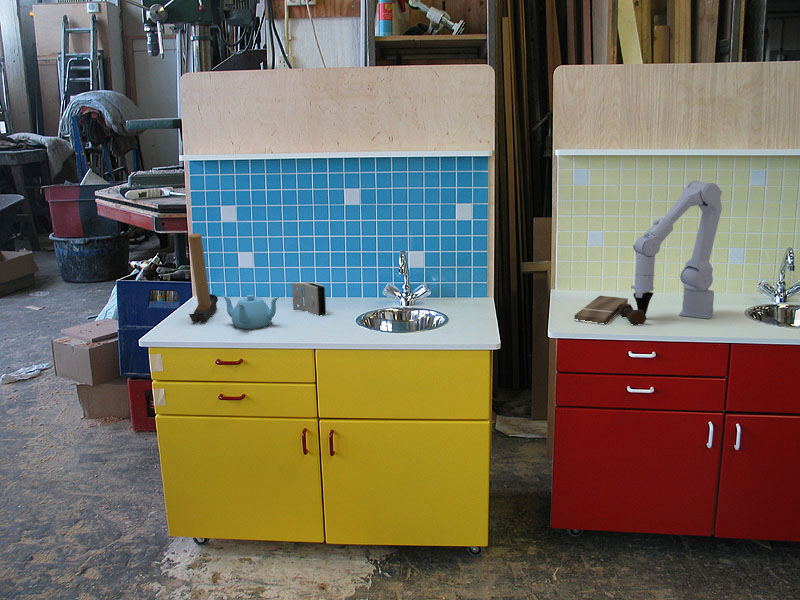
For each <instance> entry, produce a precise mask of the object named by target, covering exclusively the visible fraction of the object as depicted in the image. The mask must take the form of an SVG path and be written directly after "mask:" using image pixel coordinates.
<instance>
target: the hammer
mask: <svg viewBox="0 0 800 600" xmlns="http://www.w3.org/2000/svg"><path fill="white" fill-rule="evenodd" d="M188 243H189V250H190V256H191V262H192V264H191V265H192V271H193V279H194V284H195V290H196V291H195V292H196V299H197V306H196V308H195V310H194V311H193V313H189V314H188V315H189V318H190V319H191V321H192V322H209V320H210V319H211V318H212V317H213V316H214V315H215V312H216V311H217V310H218V307H217V306H218V305H217V303H218V301H219V299H218V298H219V297H218V296H217V295H215V294H211V293H210V290H209V281H208V273H207V268H206V259H205V255H204V254H205V253H204V245H203V237H202V234H201V233H191V234H189V235H188ZM212 315H213V316H212ZM211 316H212V317H211ZM210 317H211V318H210ZM209 318H210V319H209ZM208 319H209V320H208Z"/></svg>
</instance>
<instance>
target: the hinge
mask: <svg viewBox="0 0 800 600" xmlns="http://www.w3.org/2000/svg"><path fill="white" fill-rule="evenodd" d="M291 289H292V290H291V292H292V308H293V309H292V310H302V311H301V312H306V311H308V312H307V313H309V312H310V313H309V314H312V313H313V314H312V315H314V314H316V315H315V316H317V315H319V316H320V315H322V314H323V315H322V316H326V315H327V305H326V303H327V301H326V286H325V285H322V284H320V283H319V284H318V283H316V282H310V281H305V282H291ZM303 310H304V311H303Z"/></svg>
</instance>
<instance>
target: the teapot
mask: <svg viewBox="0 0 800 600" xmlns="http://www.w3.org/2000/svg"><path fill="white" fill-rule="evenodd" d="M221 296H222V298H224V300H225V302H226V311H227V314H228V315H229V317H230V318H231V323H232V324H233V325H234V326H235V327H236V328H238V329H242V330H256V329H261V328H265V327H267V326H268V325H269V324H270V323H271V321H272V319H273V318H274V317H275V314H276V311H277V307H276V303H277V301H278V299H280V296H277V297H273V298H272V299H271V304H270V305H271V306H270V307H269V306H268V304H267V302H265V300H264V299H263V298H261V297H260V296H255V294H247V295H246V297H244V298H240V299H239V300H238V302H237V303H236V305H235V306H234V307H233V304H232V301H231V298H230V297H229V296H227V295H224V294H221Z"/></svg>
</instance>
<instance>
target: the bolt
mask: <svg viewBox="0 0 800 600" xmlns="http://www.w3.org/2000/svg"><path fill="white" fill-rule="evenodd" d="M617 310H618V314H620V316H622V317H621V318H623V317H627V319H628V322H629V323H630V324H633V325H632V326H634V325H638V324H643V325H644V324H645V322H646V320H647V315H646V314H645V313H644V312H643V310H638V309H634V308H633V306H632V304H629V303H628V304H620V305H619V306H618V307H617ZM638 326H639V325H638Z"/></svg>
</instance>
